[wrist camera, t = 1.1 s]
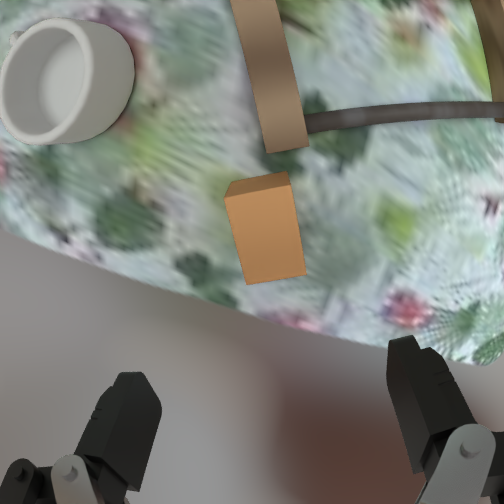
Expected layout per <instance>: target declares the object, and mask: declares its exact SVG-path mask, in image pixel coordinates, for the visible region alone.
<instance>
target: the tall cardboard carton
mask: <svg viewBox="0 0 504 504" xmlns="http://www.w3.org/2000/svg"><path fill="white" fill-rule="evenodd" d="M224 201H225V205H226V209H227V213H228V217H229V221H230V224H231V228H232V232H233V236H234V240H235V244H236V248H237V251H238V255H239V259H240V263H241V267H242V270H243V274H244V278H245V282H246V285H250V284H256V283H262V282H268V281H274V280H280V279H286V278H291V277H297V276H303V275H307V273H306V267H305V261H304V255H303V249H302V243H301V237H300V231H299V226H298V220H297V215H296V209H295V204H294V198H293V193H292V188H291V183H290V180H289V177H288V173H287V171H283V172H278V173H273V174H268V175H263V176H258V177H253V178H248V179H243V180H238V181H234V182H231V184H230V186H229V188H228V190H227V192H226V194H225V197H224Z"/></svg>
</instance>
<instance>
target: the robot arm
mask: <svg viewBox="0 0 504 504" xmlns="http://www.w3.org/2000/svg"><path fill="white" fill-rule="evenodd" d="M386 379H387V386H388V391H389V394H390V397H391V399H392V403H393V406H394V409H395V412H396V415H397V419H398V422H399V425H400V429H401V432H402V435H403V439H404V442H405V445H406V449H407V452H408V456H409V460H410V463H411V467H412V470H413V474H416V473H419V472H423V471H424V474H425V477H426V483H425V485H424V487H423V489H422V491H421V493H420V495H419V497H418V499H417V500H416V502H415V504H478V501H479V498H480V497H486V496H490V499H491V503H492V504H504V432H492V431H490V430H489V429H487V428H486V427H484V426H482V425H479V424H478V423H477V422H476V421H475V419H474V418H473V416H472V413H471V411H470V409H469V407H468V405H467V403H466V402H465V399H464V397H463V395H462V393H461V391H460V389H459V387H458V385H457V383H456V382H455V381H454V377H453V376H452V374H451V372H449V368H448V366H447V364H446V362H445V361H444V359H443V357H442V356H441V355H440V354H439V353H437V352H436V351H435V350H433V349H432V348H431V347H428V348H425V349H420V347H419V345H418V343H417V341H416V339H415V337H414V336H413V335H409V336H405V337H401V338H397V339H393V340H390V341H389V343H388V357H387V371H386ZM161 415H162V407H161V402H160V400H159V398H158V397H157V395H156V393H155V392H154V390H153V388H152V387H151V385H150V383H149V382H148V380H147V378H146V377H145V375H144V374H143V373H142V372H121V373H119V375H118V377H117V379H116V381H115V382H114V385H113V386H110V387H109V388H108V389H107V390H106V391H105V392H104V393H103V394H102V396H101V397H100V399H99V401H98V403H97V405H96V407H95V411H93V413H92V415H91V420H89V422H88V424H87V426H86V428H85V430H84V432H83V435H82V437H81V439H80V442H79V444H78V446H77V448H76V450H75V452H74V454H70V455H65V456H63V457H61V458H60V459H58V460H57V461H56V463H55V464H54V466H51V467H38V468H37V467H36V466H35V465H34V464H32V463H31V462H30V461H29V460H27V459H24V458H23V459H18V460H16V461H15V462H13V463H12V464H11V465H10V467H9V468H8V470H7V473H6V475H5V477H4V480H3V482H2V485H1V487H0V504H130V503H129V501H128V499H127V498H126V497H125V495H126V491H127V490H130V491H137V492H139V491H140V488H141V484H142V480H143V477H144V473H145V470H146V466H147V463H148V459H149V456H150V452H151V449H152V446H153V442H154V439H155V435H156V432H157V429H158V425H159V422H160V419H161Z"/></svg>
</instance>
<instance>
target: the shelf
mask: <svg viewBox="0 0 504 504" xmlns="http://www.w3.org/2000/svg"><path fill="white" fill-rule="evenodd" d="M230 2H231V6H232V10H233V14H234V18H235V21H236V25H237V29H238V33H239V37H240V41H241V45H242V49H243V53H244V57H245V61H246V65H247V69H248V73H249V78H250V82H251V86H252V90H253V95H254V99H255V103H256V107H257V112H258V116H259V121H260V125H261V129H262V134H263V138H264V143H265V147H266V152H267V154H269V153H274V152H280V151H285V150H291V149H296V148H302V147H308V146H309V140H308V135H307V134H309V133H316V132H322V131H328V130H335V129H342V128H350V127H357V126H366V125H374V124H384V123H394V122H405V121H417V120H431V119H450V118H495V122H499V123H504V0H471V3H472V6H473V10H474V13H475V16H476V20H477V23H478V27H479V31H480V35H481V39H482V43H483V47H484V52H485V57H486V62H487V67H488V72H489V78H490V84H491V91H492V98H493V102H481V101H451V102H421V103H404V104H391V105H379V106H369V107H359V108H351V109H343V110H335V111H328V112H321V113H314V114H308V115H303V111H302V106H301V101H300V97H299V92H298V88H297V83H296V79H295V74H294V70H293V66H292V62H291V58H290V54H289V50H288V46H287V42H286V38H285V34H284V30H283V26H282V23H281V19H280V15H279V12H278V8H277V5H276V1H275V0H230Z"/></svg>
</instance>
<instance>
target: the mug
mask: <svg viewBox="0 0 504 504" xmlns="http://www.w3.org/2000/svg"><path fill="white" fill-rule="evenodd" d="M9 41H10V44H11V45H12V47H11V48H10V50H9V52H8V54H7V56H6V58H5V60H4V62H3V65H2V68H1V71H0V117H1V120H2V122H3V124H4V126H5V127H6V129H7V131H8V132H9V133H10V134H11V135H12V136H13V137H14V138H15V139H16V140H19V141H21V142H23V143H25V144H28V145H51V144H67V143H76V142H80V141H84V140H89V139H91V138H93V137H95V136H97V135H98V134H100V133H102V132H104V131H105V130H106V129H107V128H108V127H109V126H111V125H112V124H113V123H114V122H115V121H116V120H117V118H118V117H119V115H120V114H121V112H122V111H123V109H124V108H125V106H126V104H127V101H128V99H129V97H130V94H131V92H132V87H133V81H134V76H135V71H134V58H133V56H132V53H131V50H130V47H129V45H128V43H127V42H126V41H125V39H124V38H123V37H122V35H121V34H120V33H118V32H117V31H115V30H114V29H112V28H110V27H109V26H107V25H104V24H99V23H95V22H90V21H84V20H75V19H68V18H60V17H58V18H52V19H46V20H43V21H41V22H39V23H37V24H35V25H33V26H31V27H30V28H29V29H28V30H27V31H25V32H24V31H15V32H14V33H13V34H11V36H10V39H9Z"/></svg>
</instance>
